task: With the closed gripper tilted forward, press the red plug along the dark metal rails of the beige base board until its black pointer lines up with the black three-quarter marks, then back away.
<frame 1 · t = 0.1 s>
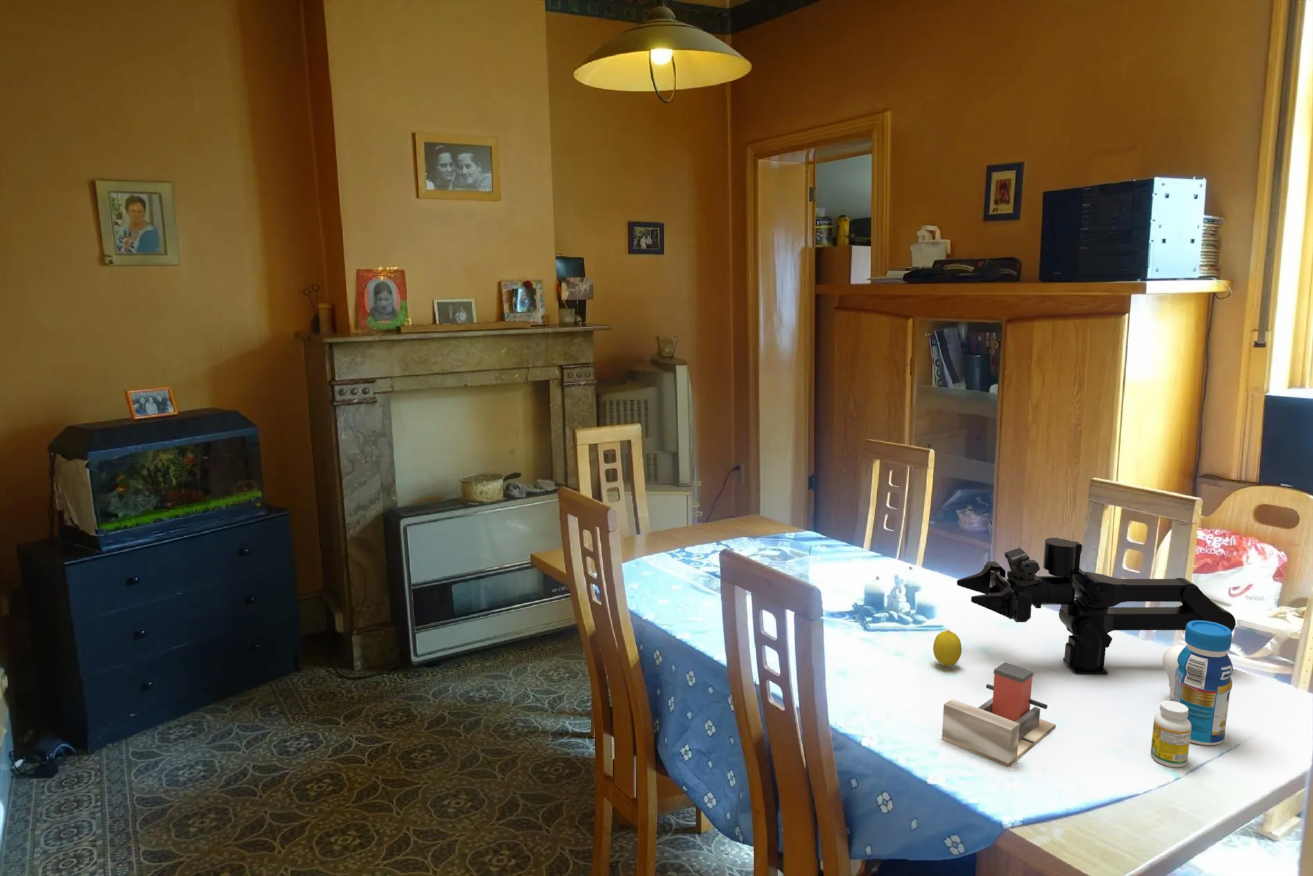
hand: (964, 590, 177), 17 cm above the table, tool horizontal, fingers open, 9 cm apart
beverage bottle: (1196, 735, 154), on the table
red plug: (1011, 695, 156), point 6 cm above the table, slide at 0.0 cm
supplement bottle: (1168, 760, 146), on the table
beige base board: (1009, 725, 158), on the table
lightbulb: (1176, 702, 165), on the table
lemon: (946, 667, 181), on the table
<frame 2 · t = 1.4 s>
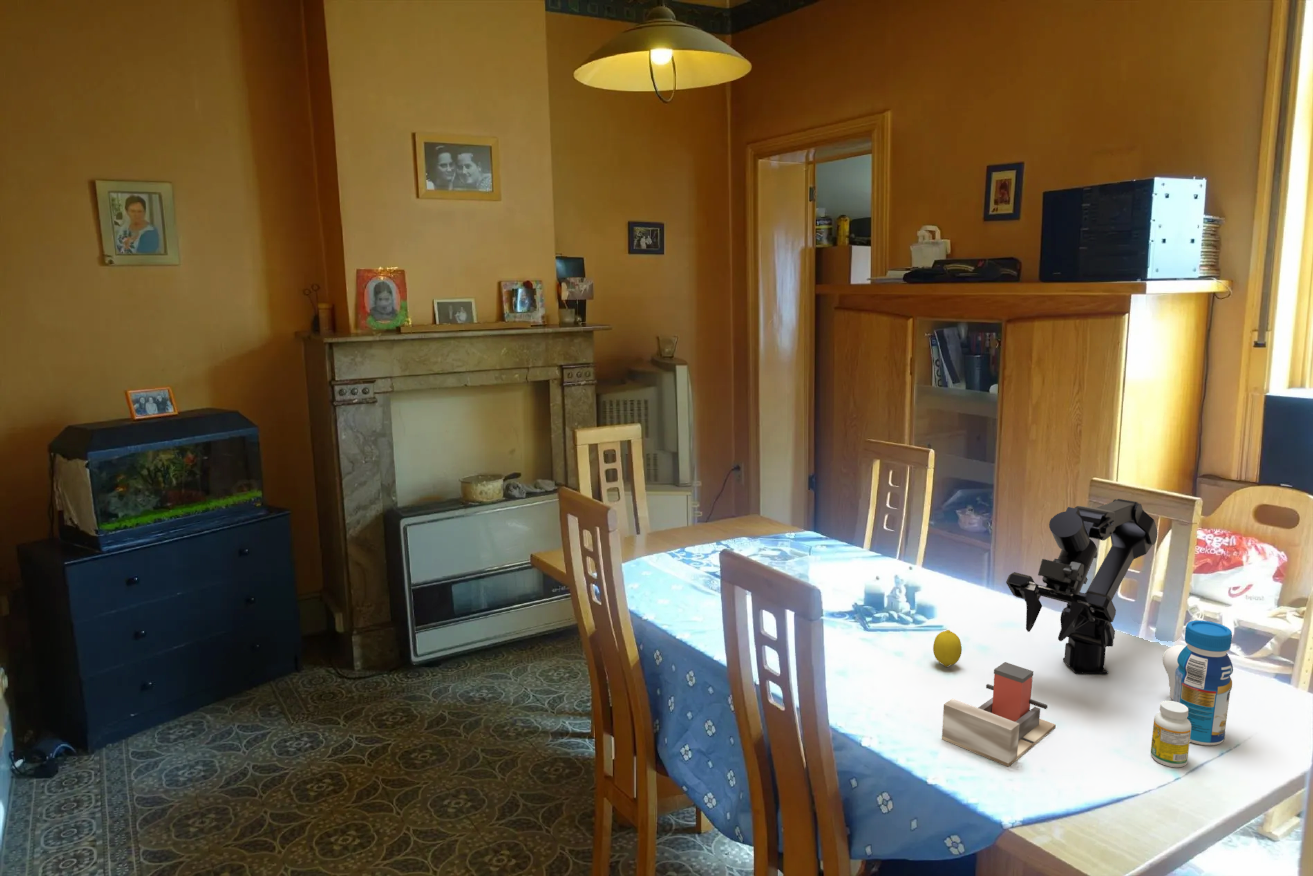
hand: (1043, 635, 163), 14 cm above the table, tool tilted 45°, fingers open, 6 cm apart
nothing on the table moved.
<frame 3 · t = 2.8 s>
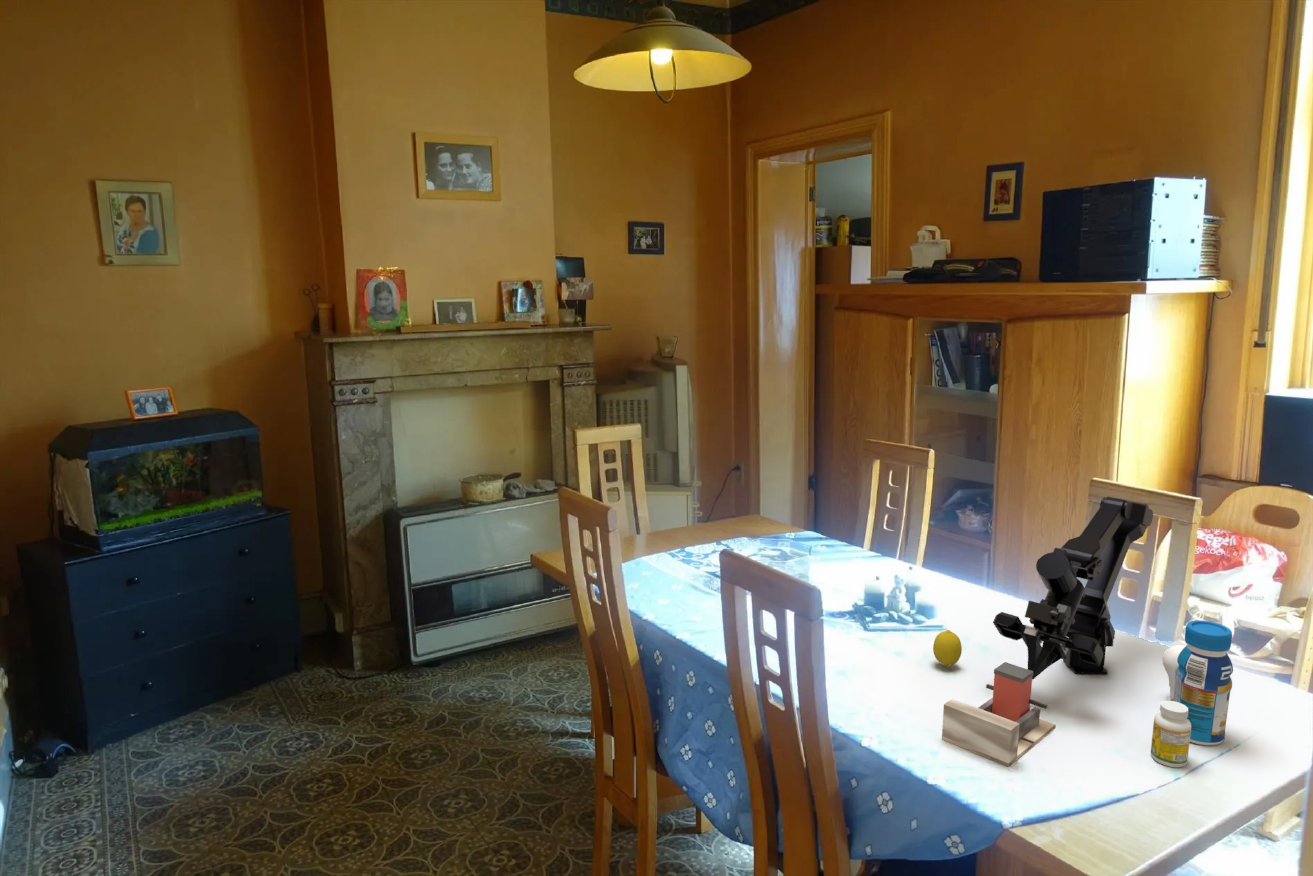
hand: (1030, 677, 161), 7 cm above the table, tool tilted 45°, fingers closed
nothing on the table moved.
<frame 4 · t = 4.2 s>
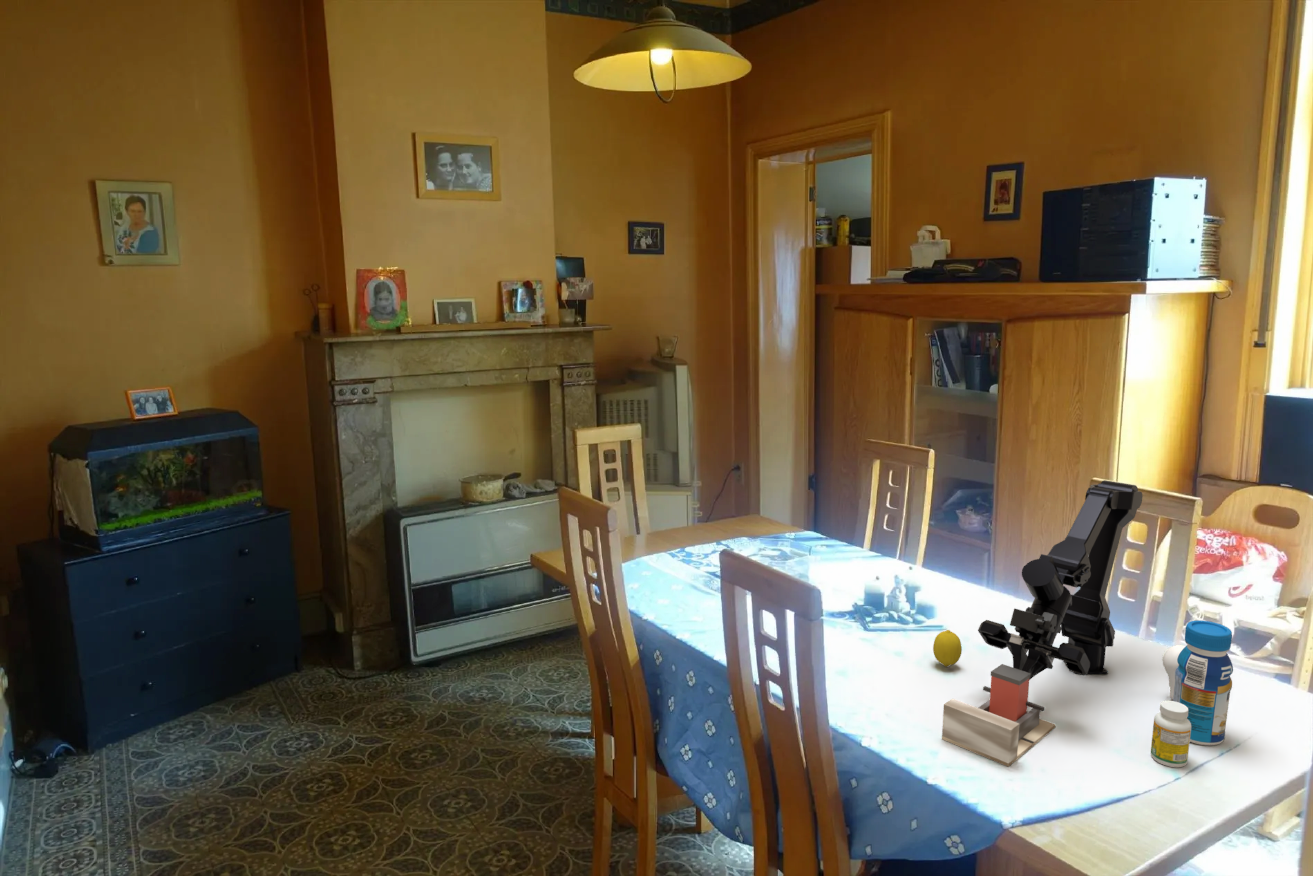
hand: (1015, 687, 157), 7 cm above the table, tool tilted 45°, fingers closed, pressing on red plug
red plug: (1008, 697, 156), point 6 cm above the table, slide at 1.2 cm, touching gripper
everything else where it was.
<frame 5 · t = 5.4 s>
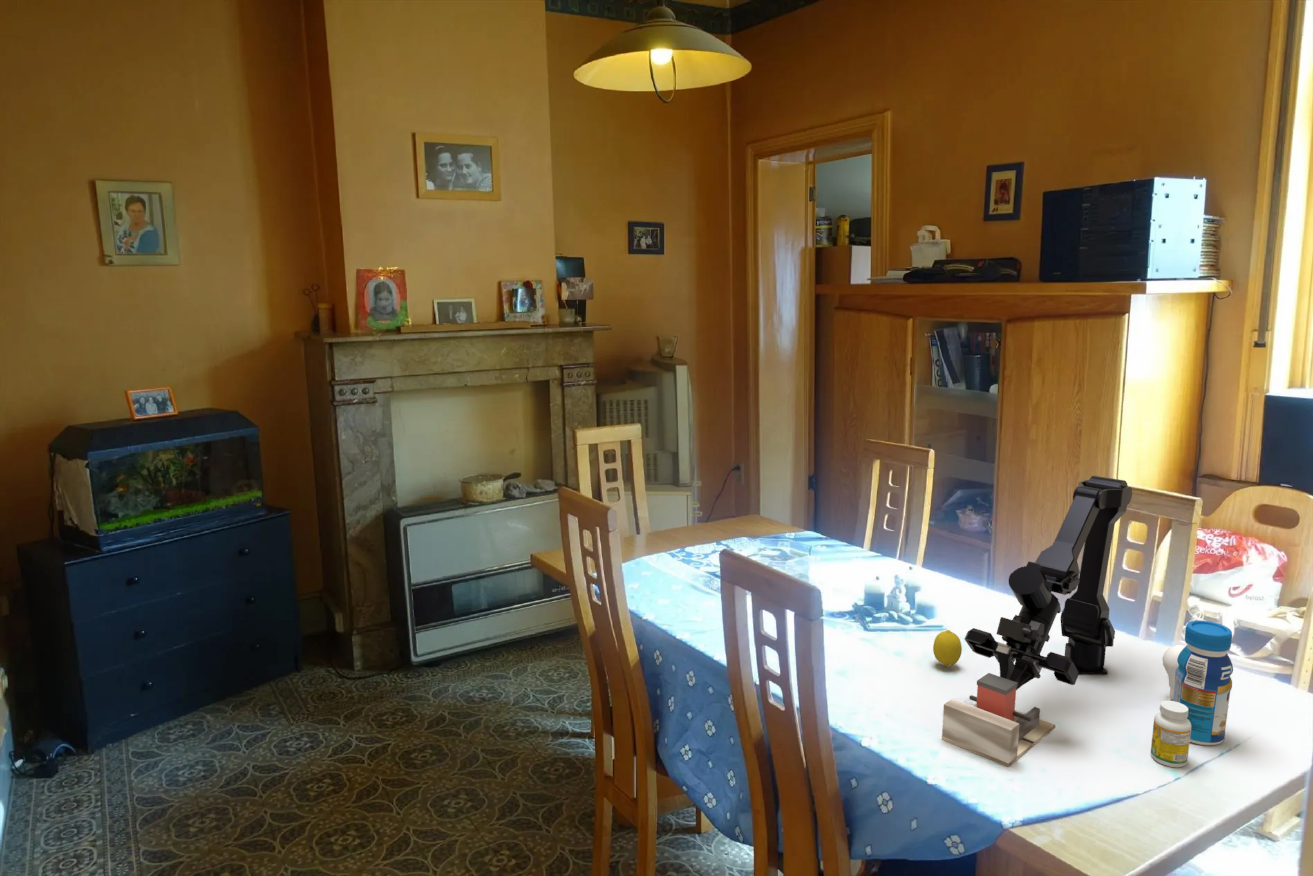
hand: (1002, 698, 154), 7 cm above the table, tool tilted 45°, fingers closed, pressing on red plug
red plug: (995, 707, 152), point 6 cm above the table, slide at 6.2 cm, touching gripper
everything else where it was.
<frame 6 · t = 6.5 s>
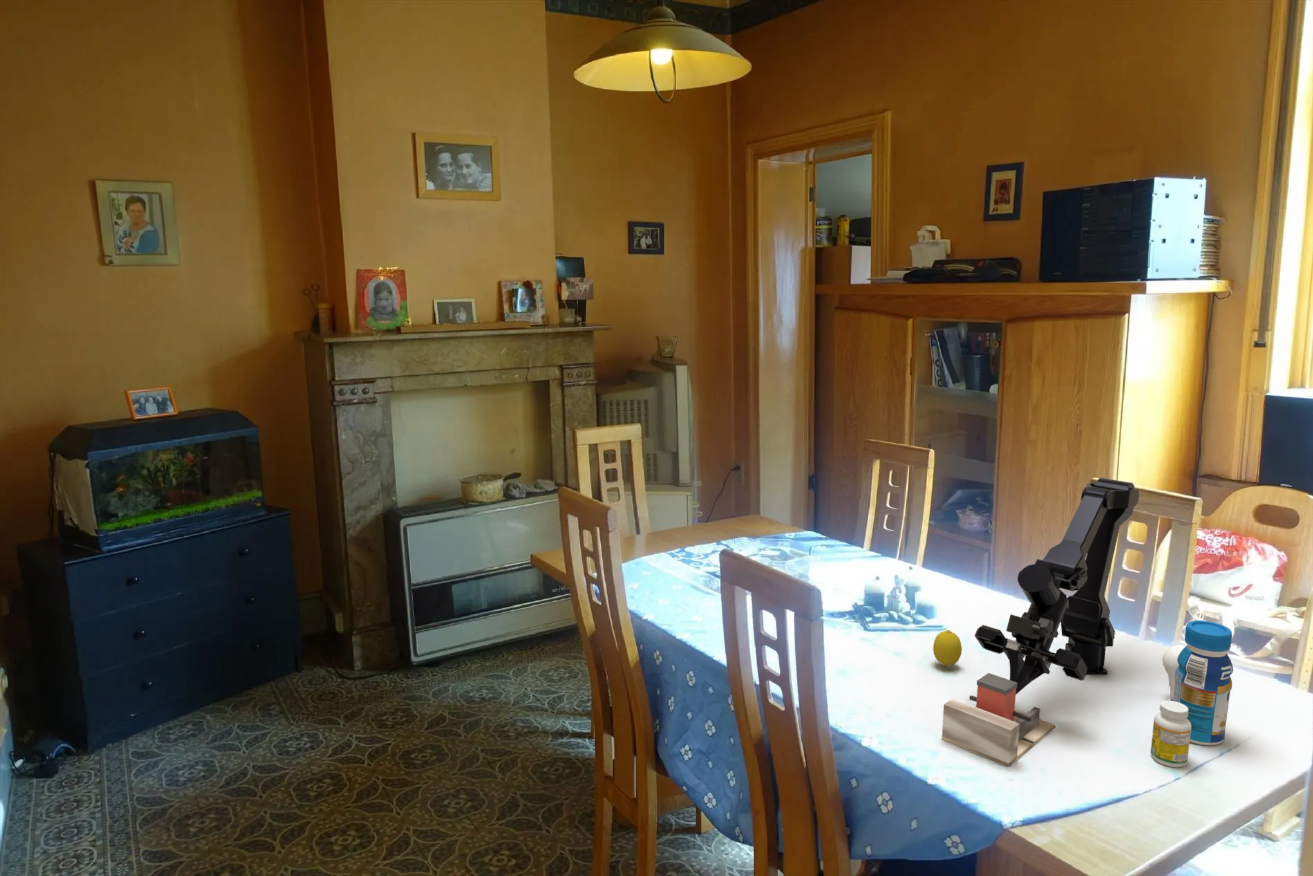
hand: (1012, 693, 156), 6 cm above the table, tool tilted 45°, fingers closed
red plug: (995, 707, 152), point 6 cm above the table, slide at 6.2 cm
everything else where it was.
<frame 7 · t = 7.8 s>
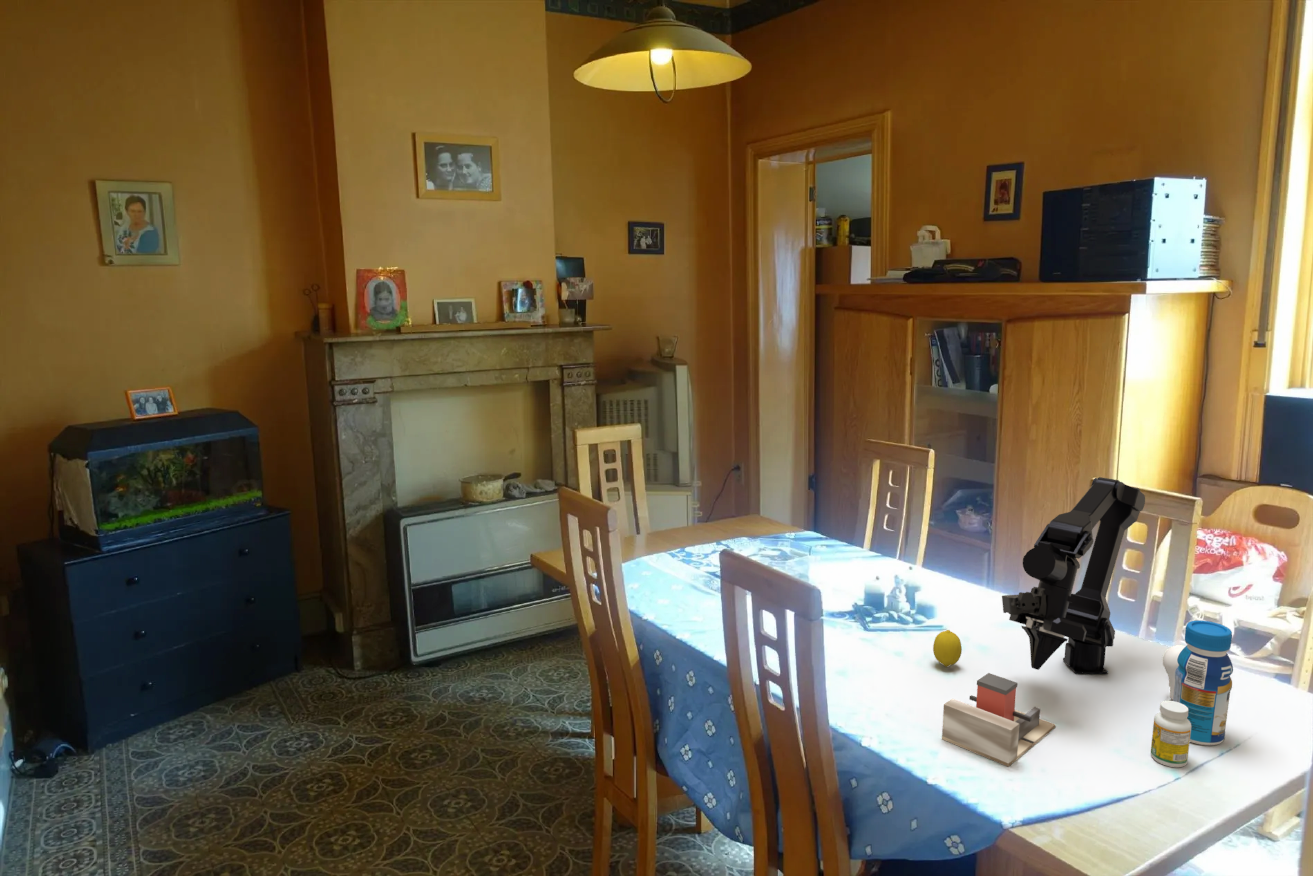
hand: (1034, 668, 162), 8 cm above the table, tool tilted 25°, fingers closed
nothing on the table moved.
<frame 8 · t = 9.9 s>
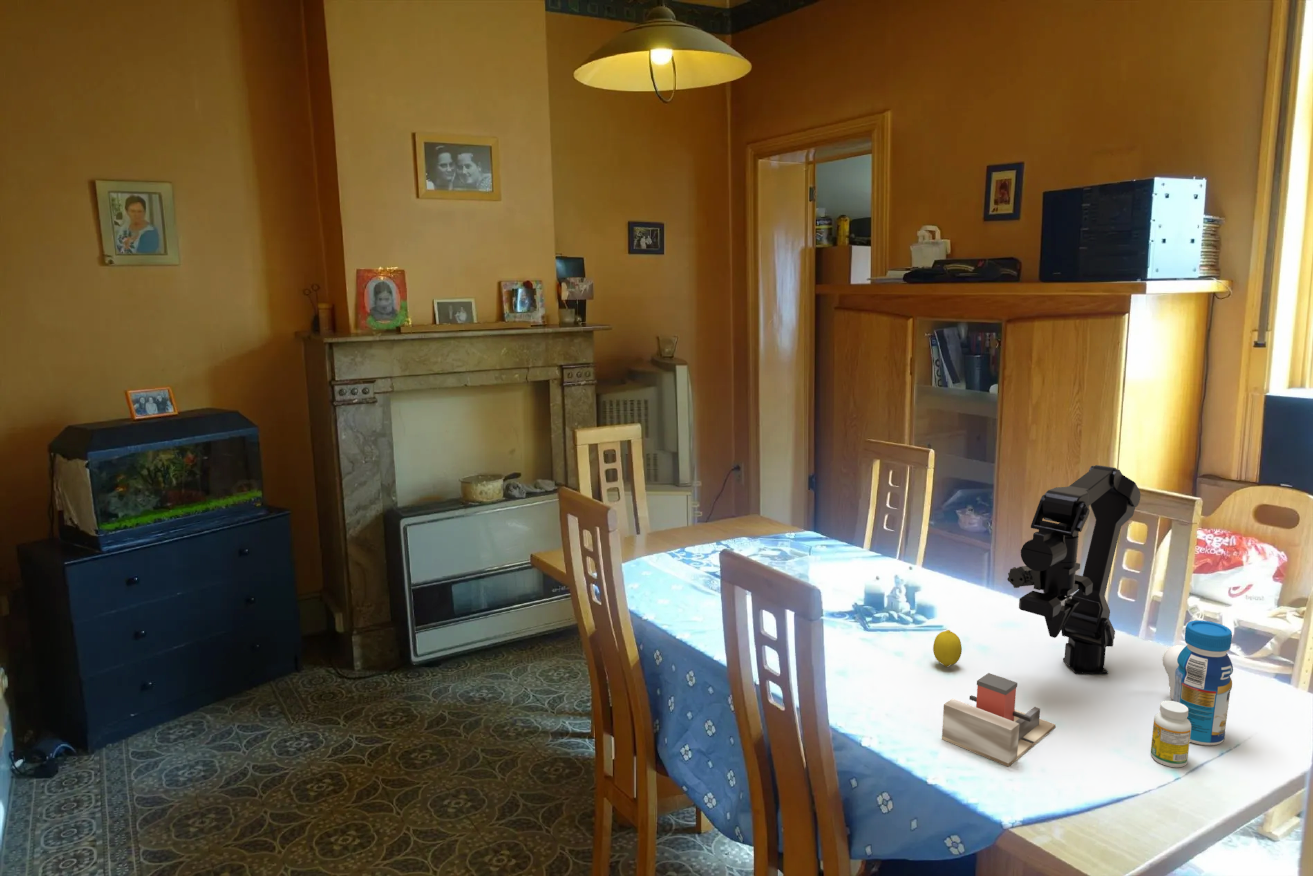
hand: (1053, 636, 166), 12 cm above the table, tool pointing down, fingers closed
nothing on the table moved.
at the end: red plug slide at 6.2 cm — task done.
